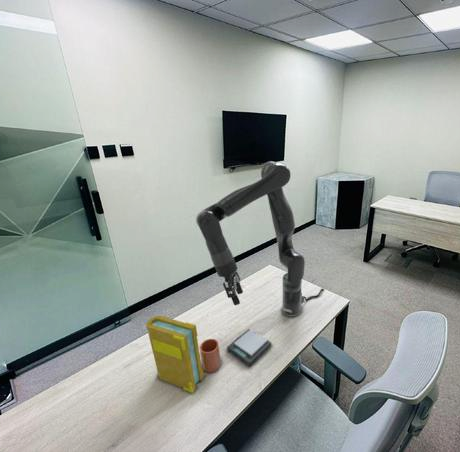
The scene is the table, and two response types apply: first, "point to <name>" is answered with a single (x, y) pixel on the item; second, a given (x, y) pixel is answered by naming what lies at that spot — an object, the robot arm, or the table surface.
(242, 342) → the scale
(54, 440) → the table surface
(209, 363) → the cup
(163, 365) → the book
